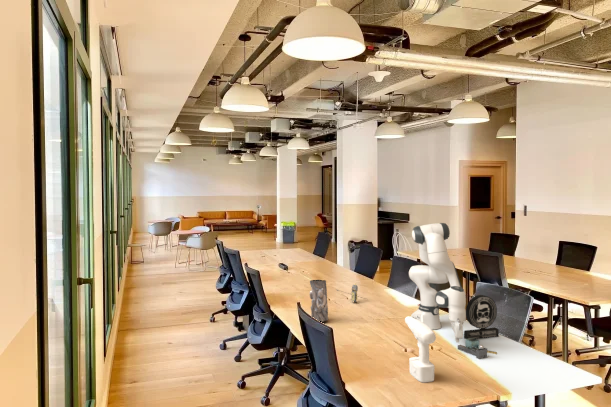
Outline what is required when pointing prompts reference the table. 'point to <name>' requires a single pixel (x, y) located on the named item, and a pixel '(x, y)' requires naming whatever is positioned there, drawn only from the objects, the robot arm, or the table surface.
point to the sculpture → (319, 300)
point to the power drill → (421, 351)
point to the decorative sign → (481, 317)
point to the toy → (354, 293)
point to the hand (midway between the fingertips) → (457, 341)
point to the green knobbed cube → (472, 343)
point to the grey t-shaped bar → (475, 351)
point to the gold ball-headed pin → (491, 352)
